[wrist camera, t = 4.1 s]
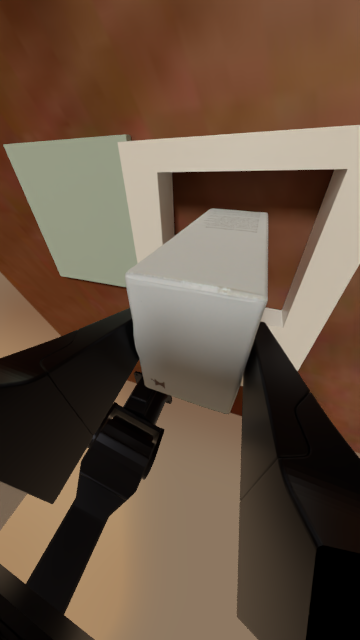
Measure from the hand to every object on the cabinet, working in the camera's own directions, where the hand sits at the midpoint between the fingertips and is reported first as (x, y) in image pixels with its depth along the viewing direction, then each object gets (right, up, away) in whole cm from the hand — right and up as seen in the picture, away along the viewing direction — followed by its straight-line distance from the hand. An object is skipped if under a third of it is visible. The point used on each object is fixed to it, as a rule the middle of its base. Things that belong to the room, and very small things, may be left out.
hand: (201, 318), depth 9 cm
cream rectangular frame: (+3, +3, +9) cm, 10 cm away
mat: (-10, +9, +10) cm, 17 cm away
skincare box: (+3, +6, +7) cm, 10 cm away
